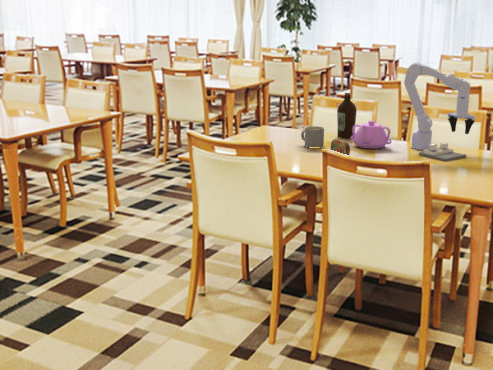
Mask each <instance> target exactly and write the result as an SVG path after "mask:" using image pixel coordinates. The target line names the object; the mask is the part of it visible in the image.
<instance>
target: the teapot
mask: <svg viewBox="0 0 493 370" xmlns="http://www.w3.org/2000/svg"><path fill="white" fill-rule="evenodd" d="M375 122H376V121H375V120H368V123H362V124H358V123H357V124H355V125H354V126H353V128H352V132H353V136H351V138H350V140H351V141H352V142H354V144H355V145H356V146H357V147H358V148H361V149H371V150H372V149H373V150H377V149H382V148H384V147H385V146H386V145H390V144H392V139H390V136H391V129H390V128H389V127H388V126H383V125H381V124H380V123H375ZM356 127H358V129H357V130H356ZM385 130H386V131H387V133H386V131H385ZM353 137H354V138H353Z"/></svg>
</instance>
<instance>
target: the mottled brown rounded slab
mask: <svg viewBox="0 0 493 370" xmlns="http://www.w3.org/2000/svg"><path fill="white" fill-rule="evenodd" d="M331 150H334V151H337V152H340V153H343V154H347V155H349V156H350V154H351V146H350V144H349V143H348V142H347V141H345V140H342V139H339V138H338V139H337V138H336V139H335V138H334V139H333V140H332V141H331V143H330V151H331Z"/></svg>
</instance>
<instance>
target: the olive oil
mask: <svg viewBox="0 0 493 370" xmlns="http://www.w3.org/2000/svg"><path fill="white" fill-rule="evenodd" d="M336 112H337V115H336V117H337V118H336V119H337V138H338V137H340V138H339V139H343V138H346V139H348V138H350V139H351V136H353V132H352V128H353V126H354V125H356V123H357V122H356V119H357V107H356V105H355V104H354V101H352V100H351V93H350V92H344V97H343V101H342V102H340V104H339V105H338V107H337V111H336ZM346 139H345V140H346ZM353 139H354V137H353ZM348 140H349V139H348Z"/></svg>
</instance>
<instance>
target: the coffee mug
mask: <svg viewBox="0 0 493 370" xmlns="http://www.w3.org/2000/svg"><path fill="white" fill-rule="evenodd" d="M300 137H301V140H302V141H303V142H304V147H305V146H307V147H323V146H324V147H325V145H324V144H325V128H324V127H323V126H314V125H313V126H311V125H310V126H306V127H304V129H303V130H302V131H301V133H300ZM324 147H323V148H324Z"/></svg>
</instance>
